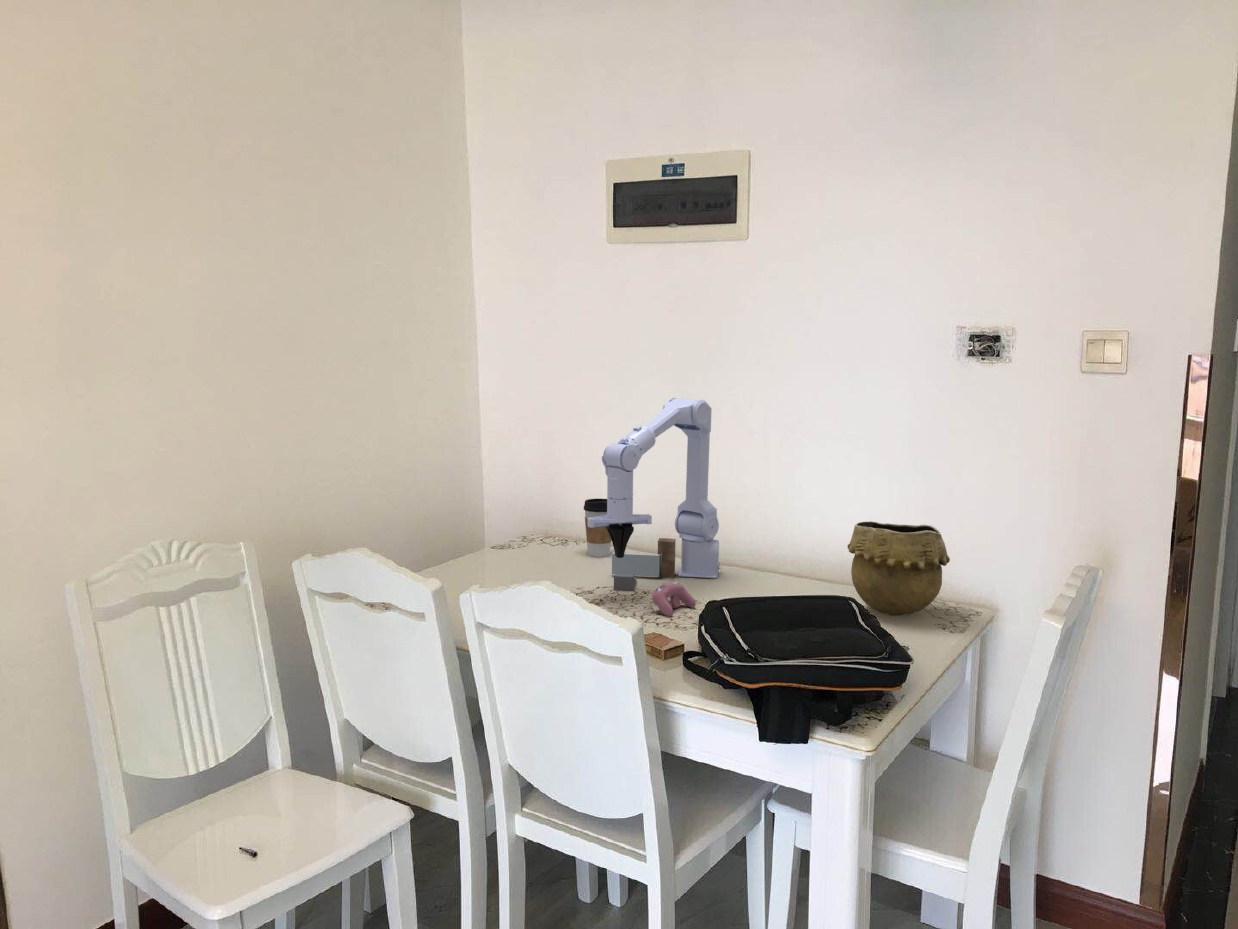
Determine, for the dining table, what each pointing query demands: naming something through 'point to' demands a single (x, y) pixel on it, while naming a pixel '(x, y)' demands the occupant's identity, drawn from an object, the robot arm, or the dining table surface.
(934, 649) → the dining table surface
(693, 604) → the video game controller
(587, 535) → the coffee cup
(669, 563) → the door post
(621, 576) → the grey stepped block
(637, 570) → the door leaf
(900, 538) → the clay pot
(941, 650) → the dining table surface
